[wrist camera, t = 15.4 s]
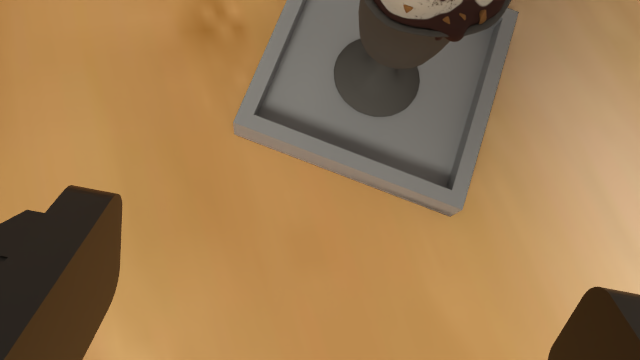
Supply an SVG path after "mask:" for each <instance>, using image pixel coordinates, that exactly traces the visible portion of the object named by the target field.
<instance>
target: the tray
mask: <svg viewBox="0 0 640 360" xmlns="http://www.w3.org/2000/svg"><path fill="white" fill-rule="evenodd" d="M359 3H360V0H287V1H286V4H285V6H284V8H283V11H282V13H281V15H280V17H279V20H278V22H277V24H276V26H275V29H274V31H273V33H272V36H271V38H270V40H269V42H268V45H267V47H266V49H265V51H264V54H263V56H262V58H261V61H260V63H259V65H258V67H257V70H256V72H255V74H254V76H253V79H252V81H251V83H250V86H249V88H248V90H247V92H246V95H245V97H244V99H243V101H242V104H241V106H240V108H239V111H238V113H237V115H236V117H235V120H234V122H233V125H234V134H235V135H237V136H240V137H243V138H245V139H248V140H250V141H253V142H256V143H258V144H261V145H264V146H266V147H269V148H271V149H274V150H277V151H279V152H282V153H285V154H287V155H290V156H292V157H295V158H298V159H300V160H303V161H306V162H308V163H311V164H313V165H316V166H319V167H321V168H324V169H327V170H329V171H332V172H334V173H337V174H340V175H342V176H345V177H347V178H350V179H353V180H355V181H358V182H361V183H363V184H366V185H368V186H371V187H374V188H376V189H379V190H382V191H384V192H387V193H389V194H392V195H395V196H397V197H400V198H403V199H405V200H408V201H410V202H413V203H416V204H418V205H421V206H424V207H426V208H429V209H431V210H434V211H437V212H439V213H442V214H444V215H447V216H452V215H454V214H456V213H458V212H459V211H461V210H462V209H463V206H464V202H465V199H466V195H467V192H468V188H469V185H470V181H471V178H472V174H473V171H474V167H475V164H476V160H477V157H478V153H479V150H480V146H481V143H482V139H483V136H484V132H485V129H486V125H487V122H488V118H489V115H490V111H491V108H492V104H493V100H494V97H495V93H496V90H497V86H498V83H499V79H500V76H501V72H502V69H503V65H504V62H505V58H506V55H507V51H508V48H509V44H510V41H511V37H512V34H513V30H514V27H515V23H516V20H517V16H518V13H519V12H517V11H514V10H512V9H509V8H507V9H506V11H505V13H504V14H503V15H502V16H501V18H500V19H499V20H498V21H497V22H496V23H495V24H494V25H492V26H491V27H490V28H488V29H485V30H483V31H480V32H477V33H474V34H470V35H466V36H464V37H463V38H462V39H461V40H460V41H457V42H451V41H450V42H449V43H448V44H447V45H446V46H445V47H444V48H443V49H442V50H441V51H440V52H439V53H437V54H436V55H435V56H434V57H432V58H431V59H429V60H428V61H427V62H425V63H424V64H422V65H420V66H417V68H418V72H419V79H420V83H419V88H418V92H417V95H416V97H415V99H414V100H413V101H412V103H411V104H410V105H409V106H408V107H407V108H406V109H405V110H403V111H401V112H399V113H397V114H395V115H392V116H386V117H373V116H369V115H366V114H363V113H360V112H358V111H356V110H355V109H353V108H352V107H351V106H349V105H348V104H347V103H346V102H345V101H344V100H343V98H342V97H341V95H340V94H339V92H338V90H337V88H336V85H335V80H334V67H335V62H336V60H337V57H338V55H339V54H340V53H341V51H342V50H343V49H344V48H345V47H346V46H347V45H348V44H350V43H352V42H354V41H356V40H358V39H361V38H360V32H359V14H358V12H359Z"/></svg>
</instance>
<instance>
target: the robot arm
mask: <svg viewBox="0 0 640 360" xmlns="http://www.w3.org/2000/svg"><path fill="white" fill-rule="evenodd" d="M121 224H122V199H121V196H120V195H119V194H115V193H110V192H105V191H99V190H94V189H89V188H84V187H78V186H73V185H71V186H68V187H67V188H66V189H65V190H64V191H63V192H62V193H61V195H60V196H59V197H58V198H57V199H56V200H55V202H54V203H53V204H52V205H51V206H50V208H49V209H48V210H47V211H46V212H45V213H41V212H36V211H30V210H26V211H24V212H22V213H20V214H18V215H16V216H14V217H12V218H10V219H9V220H7V221H5V222H3V223H1V224H0V360H82V359H83V357H84V356H85V354H86V352H87V350H88V348H89V346H90V344H91V342H92V340H93V338H94V336H95V334H96V332H97V330H98V328H99V326H100V324H101V322H102V320H103V318H104V316H105V314H106V312H107V310H108V309H109V306H110V304H111V302H112V299H113V296H114V293H115V290H116V287H117V282H118V277H119V271H120V250H121ZM548 360H640V295H638V294H633V293H628V292H623V291H617V290H612V289H607V288H602V287H593V288H591V289H589V290H588V291H587V292H586V293H585V294H584V296H583V297H582V299H581V300H580V302H579V304H578V305H577V307H576V308H575V310H574V312H573V313H572V315H571V317H570V318H569V320H568V321H567V323H566V325H565V326H564V328H563V329H562V331H561V333H560V334H559V336H558V337H557V339H556V341H555V342H554V344H553V346H552V348H551V350H550V353H549V357H548Z"/></svg>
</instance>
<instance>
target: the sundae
mask: <svg viewBox="0 0 640 360" xmlns="http://www.w3.org/2000/svg"><path fill="white" fill-rule="evenodd" d="M510 2H511V0H360V3H359V12H358V14H359V32H360V38H361V39H358V40H356V41H354V42H352V43H350V44H348V45H347V46H346V47H345V48H344V49H343V50H342V51H341V53H340V54H339V55H338V57H337V60H336V62H335V67H334V80H335V85H336V88H337V90H338V92H339V94H340V95H341V97H342V98H343V100H344V101H345V102H346V103H347V104H348V105H349V106H351V107H352V108H353V109H355V110H356V111H358V112H360V113H363V114H366V115H369V116H373V117H386V116H392V115H395V114H397V113H399V112H401V111H403V110H405V109H406V108H407V107H408V106H409V105H410V104H411V103H412V101H413V100H414V99H415V97H416V95H417V92H418V88H419V83H420V79H419V72H418V68H417V66H420V65H422V64H424V63H425V62H427V61H428V60H429V59H431V58H432V57H434V56H435V55H436V54H437V53H439V52H440V51H441V50H442V49H443V48H444V47H445V46H446V45H447V44H448V43H449V42H450V41H451V42H457V41H460V40H461V39H462V38H463V37H464V36H466V35H470V34H474V33H477V32H480V31H483V30H485V29H488V28H490V27H491V26H492V25H494V24H495V23H496V22H497V21H498V20H499V19H500V18H501V16H502V15H503V14H504V13H505V11H506V9H507V7H508V5H509V4H510Z"/></svg>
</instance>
